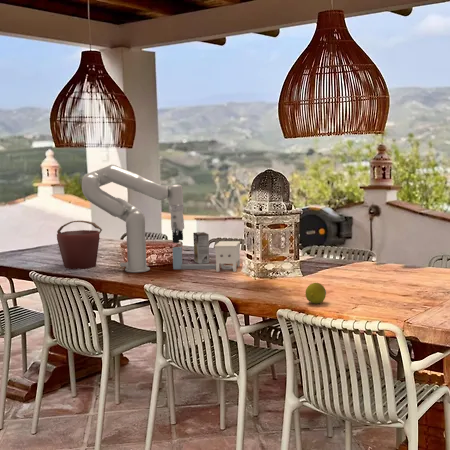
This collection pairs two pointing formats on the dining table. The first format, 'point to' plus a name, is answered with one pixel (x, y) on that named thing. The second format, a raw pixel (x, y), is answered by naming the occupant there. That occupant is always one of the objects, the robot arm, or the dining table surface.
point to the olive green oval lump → (315, 293)
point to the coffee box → (201, 247)
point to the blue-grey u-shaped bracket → (178, 264)
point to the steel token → (227, 267)
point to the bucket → (79, 247)
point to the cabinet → (227, 253)
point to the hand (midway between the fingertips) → (178, 241)
